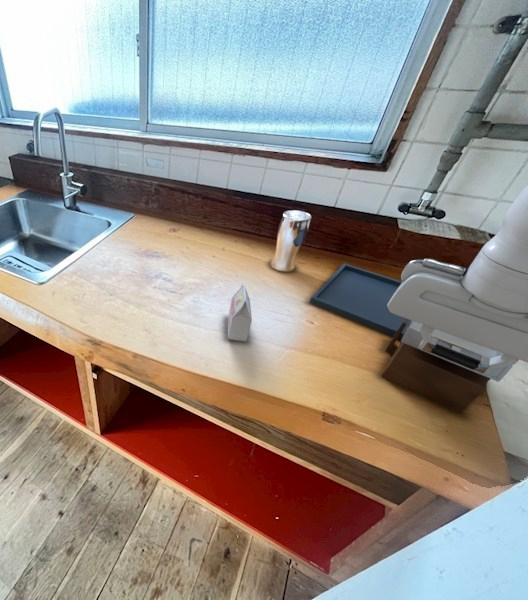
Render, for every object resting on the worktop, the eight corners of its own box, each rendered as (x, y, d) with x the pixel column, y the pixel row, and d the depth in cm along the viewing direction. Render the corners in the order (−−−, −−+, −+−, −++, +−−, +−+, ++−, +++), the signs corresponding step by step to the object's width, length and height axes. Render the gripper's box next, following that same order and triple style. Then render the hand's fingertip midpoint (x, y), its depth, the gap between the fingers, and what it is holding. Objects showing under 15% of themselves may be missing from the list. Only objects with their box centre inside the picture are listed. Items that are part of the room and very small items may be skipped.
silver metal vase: (296, 274, 86) (313, 221, 77) (268, 270, 88) (282, 218, 79) (295, 261, 91) (311, 211, 82) (269, 258, 94) (282, 208, 85)
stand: (480, 380, 57) (509, 351, 52) (471, 419, 51) (503, 390, 47) (389, 342, 65) (407, 314, 61) (372, 372, 59) (391, 343, 55)
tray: (475, 311, 72) (480, 306, 71) (460, 364, 60) (465, 358, 59) (342, 268, 88) (344, 263, 87) (309, 302, 76) (311, 297, 75)
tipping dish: (499, 341, 56) (512, 325, 54) (498, 394, 44) (514, 377, 43) (415, 311, 63) (424, 296, 61) (395, 350, 52) (406, 334, 50)
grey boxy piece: (244, 320, 72) (253, 284, 66) (246, 341, 67) (256, 303, 61) (227, 318, 73) (235, 282, 67) (228, 339, 68) (235, 301, 62)
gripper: (406, 262, 44) (366, 336, 52) (657, 331, 32) (552, 414, 40) (417, 246, 47) (377, 318, 55) (646, 303, 35) (552, 384, 43)
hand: (452, 359), depth 48 cm, fingers closed on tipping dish, 5 cm apart
